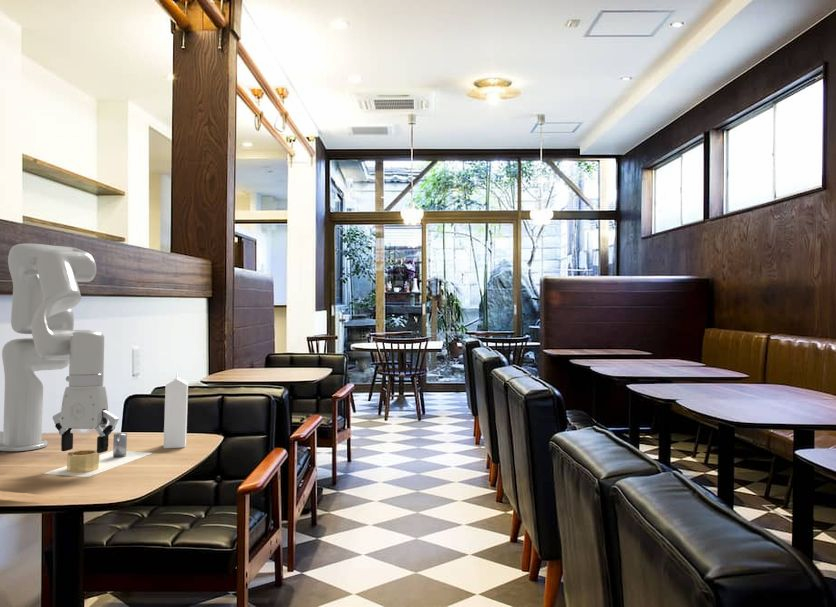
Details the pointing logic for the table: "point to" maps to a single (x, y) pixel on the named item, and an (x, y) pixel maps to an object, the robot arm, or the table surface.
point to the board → (102, 464)
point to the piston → (119, 445)
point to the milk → (175, 413)
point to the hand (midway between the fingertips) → (84, 451)
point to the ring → (82, 461)
